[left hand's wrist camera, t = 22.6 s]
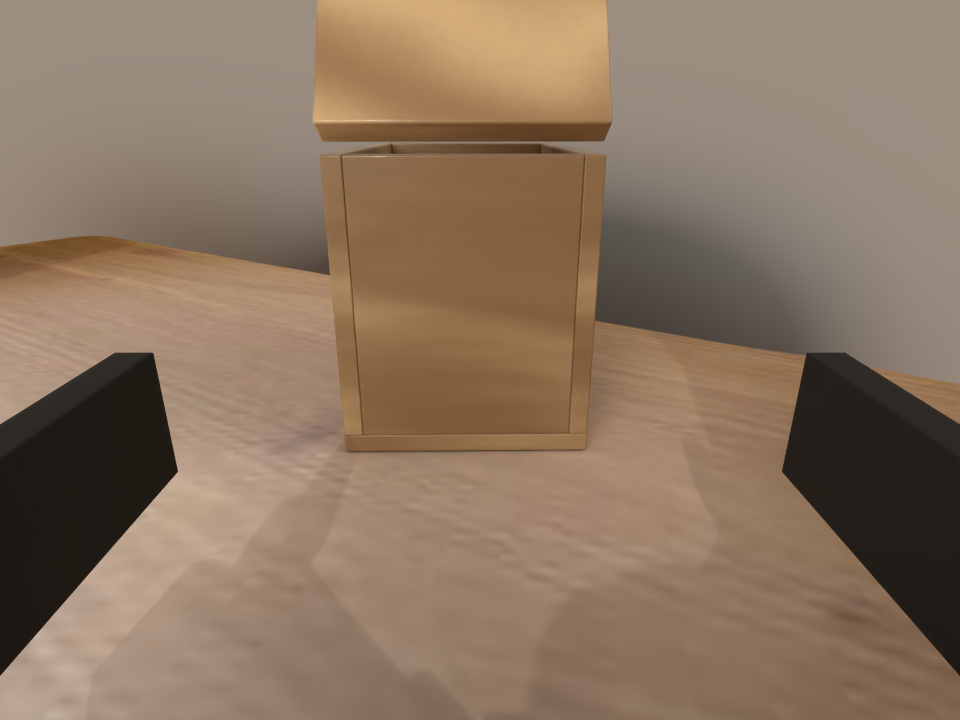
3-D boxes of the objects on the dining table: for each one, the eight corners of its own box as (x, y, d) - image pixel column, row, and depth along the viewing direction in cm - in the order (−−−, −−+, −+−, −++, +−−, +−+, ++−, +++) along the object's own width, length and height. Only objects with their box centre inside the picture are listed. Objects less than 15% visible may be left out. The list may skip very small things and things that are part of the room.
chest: (390, 335, 37) (379, 143, 33) (544, 334, 37) (552, 143, 33) (346, 451, 23) (318, 154, 20) (586, 450, 24) (607, 154, 20)
